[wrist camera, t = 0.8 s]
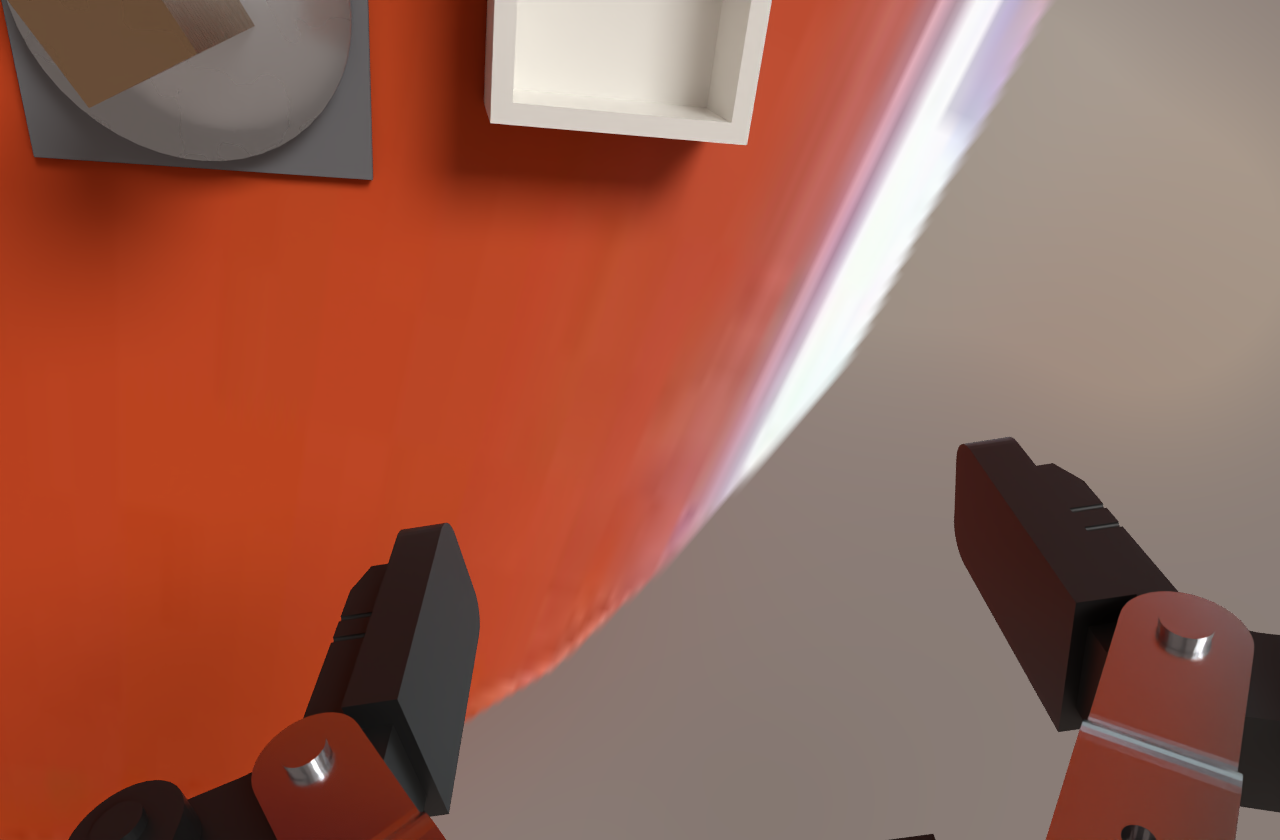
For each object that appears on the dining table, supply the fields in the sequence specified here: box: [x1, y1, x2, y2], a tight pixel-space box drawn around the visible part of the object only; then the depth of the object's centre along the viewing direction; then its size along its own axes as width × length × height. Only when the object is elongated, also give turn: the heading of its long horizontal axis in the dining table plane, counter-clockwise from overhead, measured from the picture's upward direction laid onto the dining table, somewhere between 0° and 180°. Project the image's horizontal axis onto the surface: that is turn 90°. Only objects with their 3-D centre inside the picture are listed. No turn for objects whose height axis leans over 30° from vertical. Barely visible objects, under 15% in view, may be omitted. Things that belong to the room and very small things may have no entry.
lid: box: [7, 0, 352, 161], centre depth 24 cm, size 10×10×9 cm
